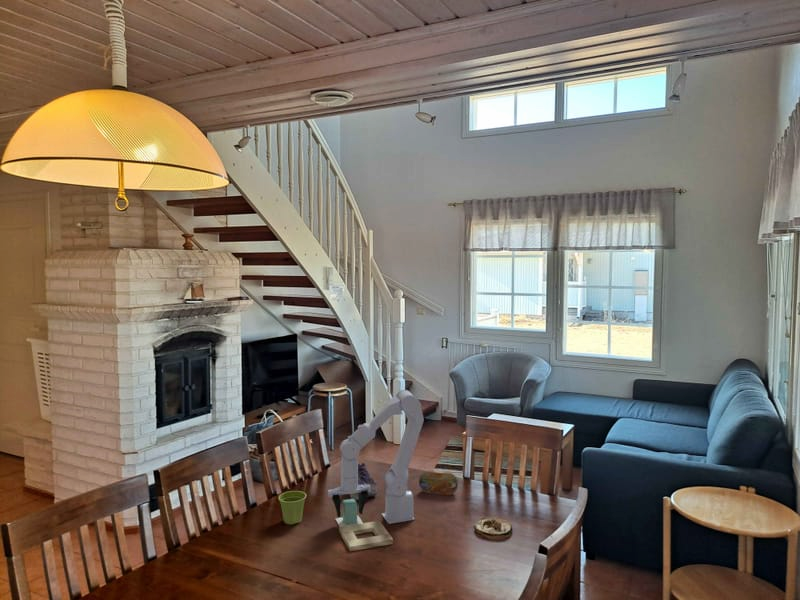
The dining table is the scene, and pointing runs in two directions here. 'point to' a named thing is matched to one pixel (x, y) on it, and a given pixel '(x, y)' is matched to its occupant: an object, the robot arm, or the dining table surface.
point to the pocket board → (369, 542)
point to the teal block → (350, 511)
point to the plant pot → (292, 506)
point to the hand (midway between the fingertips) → (349, 514)
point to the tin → (438, 482)
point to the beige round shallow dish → (493, 528)
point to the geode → (364, 481)
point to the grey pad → (341, 523)
